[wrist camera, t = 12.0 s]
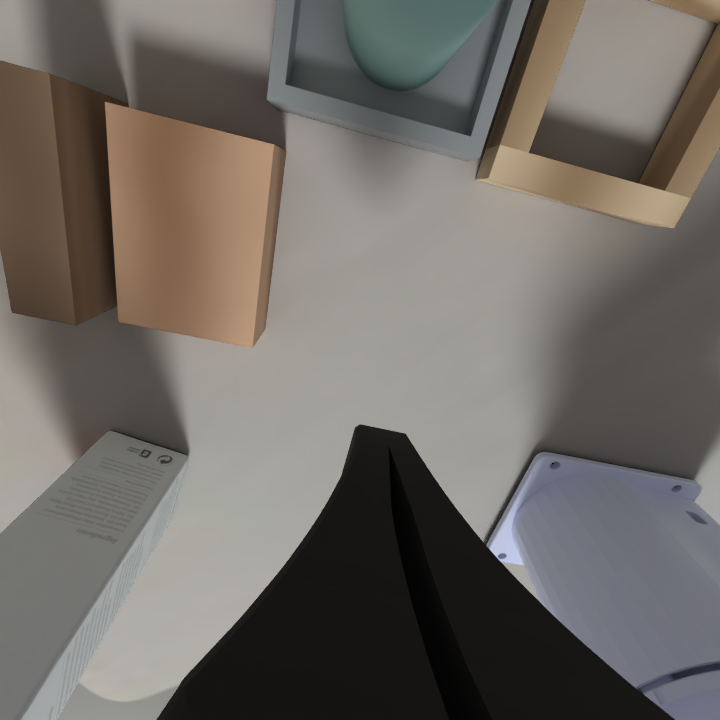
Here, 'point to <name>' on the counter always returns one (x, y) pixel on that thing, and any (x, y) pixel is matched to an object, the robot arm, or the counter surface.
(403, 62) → the teal capsule
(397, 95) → the tray
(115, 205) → the tan cardboard block
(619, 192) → the socket block
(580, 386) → the counter surface
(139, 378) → the counter surface
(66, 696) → the skincare box
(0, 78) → the stop block
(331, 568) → the robot arm
